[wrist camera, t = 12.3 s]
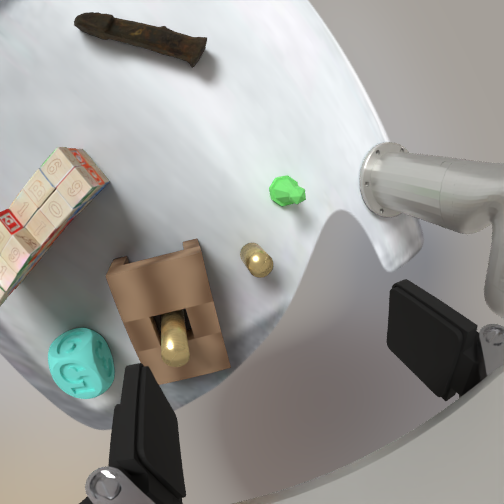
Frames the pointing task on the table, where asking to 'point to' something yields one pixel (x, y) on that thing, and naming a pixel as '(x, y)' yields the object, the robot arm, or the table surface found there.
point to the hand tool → (143, 36)
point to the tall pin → (174, 339)
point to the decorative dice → (81, 363)
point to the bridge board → (169, 310)
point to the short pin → (256, 260)
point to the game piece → (286, 191)
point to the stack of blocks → (44, 212)
